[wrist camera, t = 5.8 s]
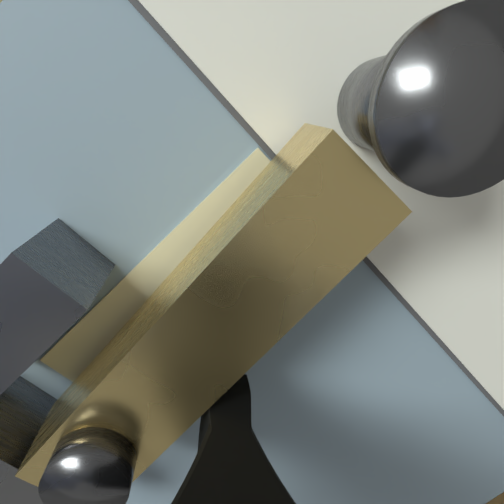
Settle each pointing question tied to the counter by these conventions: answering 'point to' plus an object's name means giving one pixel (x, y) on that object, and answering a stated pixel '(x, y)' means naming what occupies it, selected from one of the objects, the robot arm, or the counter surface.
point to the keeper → (38, 334)
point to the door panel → (217, 203)
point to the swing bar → (213, 318)
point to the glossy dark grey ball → (435, 102)
